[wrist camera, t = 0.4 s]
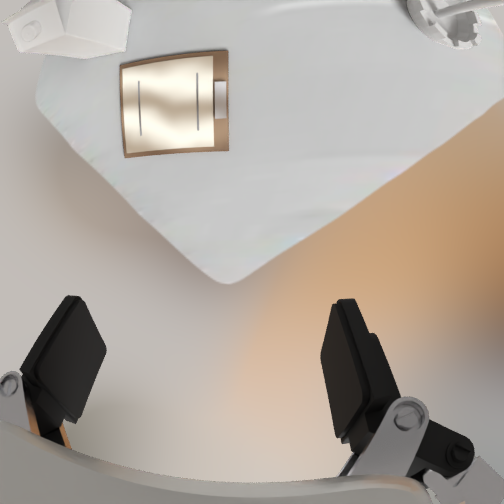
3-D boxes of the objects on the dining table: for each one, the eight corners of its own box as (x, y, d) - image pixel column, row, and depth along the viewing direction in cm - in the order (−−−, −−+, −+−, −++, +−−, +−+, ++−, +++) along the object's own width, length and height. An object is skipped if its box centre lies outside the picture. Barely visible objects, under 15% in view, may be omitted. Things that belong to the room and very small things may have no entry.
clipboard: (121, 65, 28) (117, 65, 27) (228, 51, 28) (227, 49, 27) (126, 157, 35) (122, 159, 34) (228, 150, 35) (228, 151, 34)
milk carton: (91, 19, 23) (8, -5, 7) (132, 10, 24) (58, -33, 7) (85, 59, 27) (-6, 53, 10) (126, 51, 27) (40, 29, 11)
